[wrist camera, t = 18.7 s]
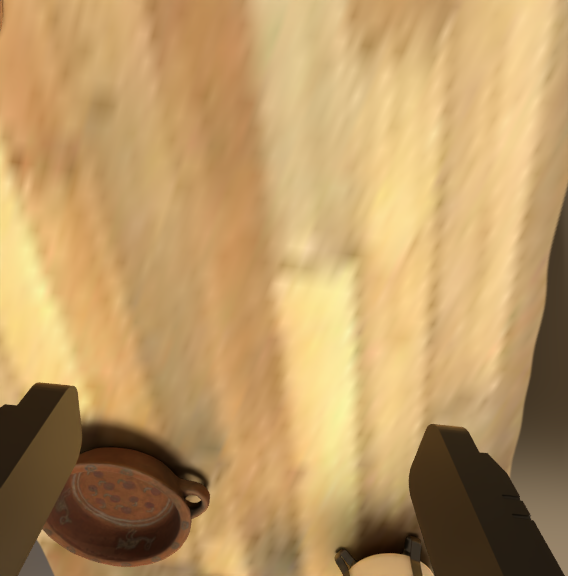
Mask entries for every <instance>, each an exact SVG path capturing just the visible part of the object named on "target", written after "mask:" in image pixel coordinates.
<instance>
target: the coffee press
mask: <svg viewBox="0 0 568 576" xmlns="http://www.w3.org/2000/svg"><path fill="white" fill-rule="evenodd" d="M420 552H421V540H420V539H419V538H416V537H413V536H410V535H408V536H407V537H406V540H405V545H404V550H403V552H402V554H396V553H384V554H377V555H373V556H369V557H367V558H364V559H362V560H360V561H359V562H358V561H356V560H355V559H354V558H353V557H352V556H351V555H350V554H349V552H348V551H347V550H345V549H340V551H339V552H338V553H337V554H336V556H335V561H336V563H337V565H338V567H339V568H340V570H341V572H342V574H343V576H434V574H433V573H432V571H431V570H430V569H429V568H428V567H427V566H426V565H425V564H424V563H422V562H421V561H420ZM341 556H342V557H343V559H344V560H345V561H346V562H347V563H348V565H349V566H351V569H350V570H349V569H348V567H347V565H346V563H345V562H344V560H343V559H342V557H341Z"/></svg>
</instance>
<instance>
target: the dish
mask: <svg viewBox="0 0 568 576" xmlns="http://www.w3.org/2000/svg"><path fill="white" fill-rule="evenodd" d="M188 495H196V496H198V497H199V498H200V499H201V501H200V502H198V503H192V502H189V501H188V500H186V499H185V498H186V497H187V496H188ZM209 500H210V494H209V491H208V490H207V488H205V487H204V486H203V485H202V484H200V483H197V482H194V481H188V480H183V479H181V478H179V477H177V476H176V475H175V474H174V473H173V472H172V471H171V470H170V469H169V468H168V467H167V466H166V465H165V464H164V463H162V462H161V461H159V460H158V459H156V458H154V457H152V456H150V455H147V454H145V453H142V452H139V451H136V450H132V449H126V448H115V447H103V448H96V449H92V450H89V451H86V452H84V453H81V454H79V457H78V460H77V462H76V465H75V467H74V469H73V470H72V472H71V474H70V476H69V478H68V480H67V482H66V484H65V486H64V488H63V490H62V492H61V494H60V495H59V497H58V499H57V501H56V503H55V505H54V507H53V509H52V511H51V513H50V515H49V517H48V518H47V520H46V522H45V524H44V526H43V528H42V529H43V530H44V531H45V532H46V534H47V535H48V536H49V537H50V538H52V539H53V540H54V541H55V542H57V543H58V544H60V545H61V546H62V547H64V548H66V549H67V550H68V551H70V552H72V553H74V554H76V555H79V556H81V557H84V558H86V559H89V560H92V561H95V562H98V563H103V564H108V565H113V566H121V567H135V566H140V565H148V564H152V563H155V562H158V561H160V560H163V559H165V558H167V557H168V556H170V555H172V554H173V553H175V552H176V551H177V550H178V549H179V548H180V547H181V546H182V545H183V543H184V542H185V540H186V539H187V537H188V535H189V532H190V528H191V519H193V518H195V517H197V516H199V515H200V514H202V513H203V512H204V511H206V509H207V508H208V506H209Z"/></svg>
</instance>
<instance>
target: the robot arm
mask: <svg viewBox="0 0 568 576" xmlns="http://www.w3.org/2000/svg"><path fill="white" fill-rule="evenodd" d="M2 18H3V10H2V0H0V30H1V24H2ZM81 444H82V430H81V420H80V410H79V401H78V392H77V389H76V387H75V386H69V385H59V384H49V383H36V384H35V385H33V386H32V387H31V389H30V390H29V391H28V392H27V394H26V395H25V396H24V397H23V399H22V400H21V401H20V403H19V404H18V405H17V406H16V405H6V404H5V405H3V406H2V407H0V576H18V574H19V572H20V570H21V568H22V566H23V564H24V563H25V560H26V559H27V557H28V555H29V553H30V551H31V549H32V547H33V545H34V543H35V541H36V540H37V538H38V536H39V534H40V532H41V530H42V528H43V526H44V524H45V522H46V520H47V518H48V517H49V515H50V513H51V511H52V509H53V507H54V505H55V503H56V501H57V499H58V497H59V495H60V494H61V492H62V490H63V488H64V486H65V484H66V482H67V480H68V478H69V476H70V474H71V472H72V470H73V469H74V467H75V465H76V462H77V460H78V457H79V453H80V449H81ZM409 490H410V496H411V499H412V503H413V506H414V509H415V512H416V516H417V519H418V522H419V525H420V529H421V532H422V535H423V539H424V542H425V545H426V548H427V552H428V555H429V558H430V561H431V565H432V568H433V571H434V574H435V576H565V575H564V574H563V572H562V570H561V568H560V567H559V565H558V563H557V561H556V559H555V558H554V556H553V554H552V552H551V551H550V549H549V547H548V545H547V543H546V542H545V540H544V538H543V536H542V535H541V533H540V531H539V529H538V528H537V526H536V524H535V522H534V521H533V520H531V518H530V516H531V515H530V513H529V512H528V510H527V508H526V506H525V505H524V503H523V501H520V498H519V497H520V496H519V494H518V492H517V490H516V489H515V487H514V485H513V484H512V482H511V480H510V478H509V476H508V474H507V473H506V472H505V471H504V470H503V469H502V468H501V467H500V466H499V465H498V464H497V463H496V462H495V461H494V460H493V459H492V458H491V456H490V455H489V454H488V453H479V451H478V449H477V447H476V445H475V443H474V441H473V439H472V437H471V436H470V434H469V432H468V431H467V430H466V429H465V428H463V427H456V426H446V425H437V424H430V425H429V426H428V427H427V429H426V431H425V433H424V436H423V438H422V441H421V443H420V446H419V448H418V451H417V453H416V456H415V458H414V461H413V463H412V466H411V469H410V473H409Z"/></svg>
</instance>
